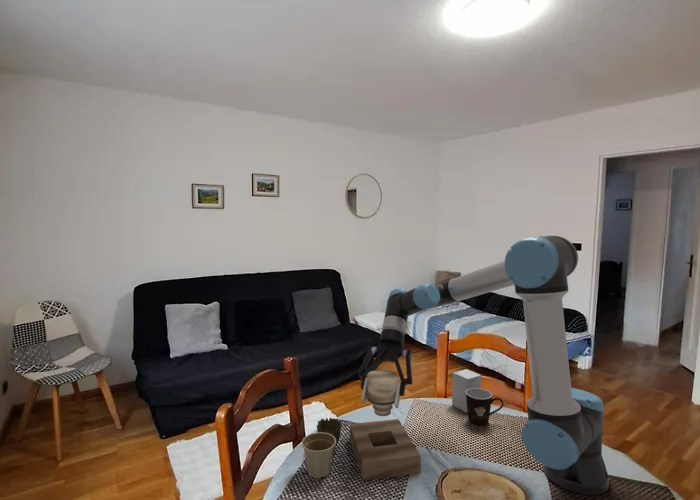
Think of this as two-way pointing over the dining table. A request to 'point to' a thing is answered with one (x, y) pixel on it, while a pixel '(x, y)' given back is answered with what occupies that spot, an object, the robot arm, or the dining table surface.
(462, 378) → the supplement box
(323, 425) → the dark green spiky plant
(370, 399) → the peg
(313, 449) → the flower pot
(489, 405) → the coffee mug
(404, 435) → the board
